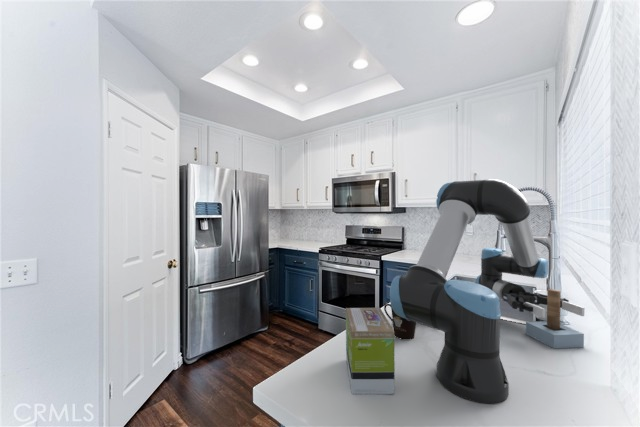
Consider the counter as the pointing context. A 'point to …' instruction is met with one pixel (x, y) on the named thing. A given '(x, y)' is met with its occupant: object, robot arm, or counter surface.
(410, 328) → the coffee mug
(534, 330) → the socket block
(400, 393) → the counter surface
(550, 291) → the dowel
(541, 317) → the white cup
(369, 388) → the tea box
